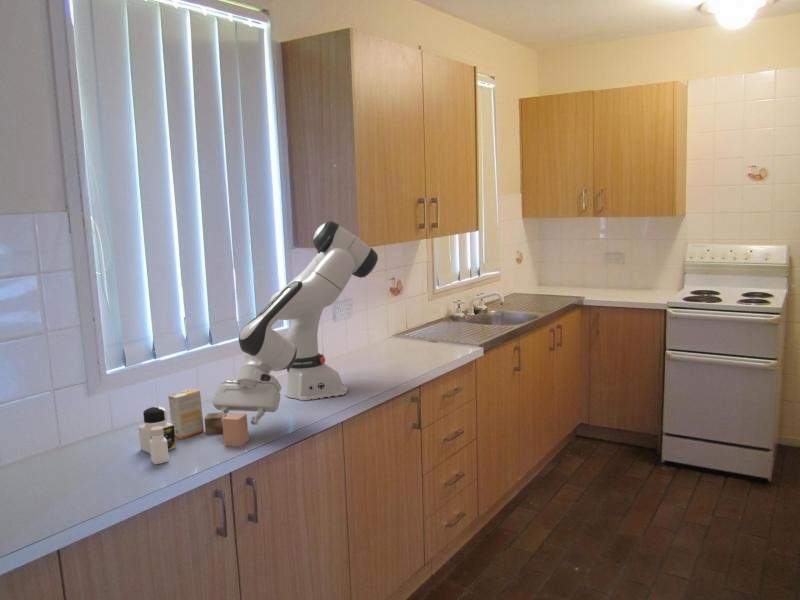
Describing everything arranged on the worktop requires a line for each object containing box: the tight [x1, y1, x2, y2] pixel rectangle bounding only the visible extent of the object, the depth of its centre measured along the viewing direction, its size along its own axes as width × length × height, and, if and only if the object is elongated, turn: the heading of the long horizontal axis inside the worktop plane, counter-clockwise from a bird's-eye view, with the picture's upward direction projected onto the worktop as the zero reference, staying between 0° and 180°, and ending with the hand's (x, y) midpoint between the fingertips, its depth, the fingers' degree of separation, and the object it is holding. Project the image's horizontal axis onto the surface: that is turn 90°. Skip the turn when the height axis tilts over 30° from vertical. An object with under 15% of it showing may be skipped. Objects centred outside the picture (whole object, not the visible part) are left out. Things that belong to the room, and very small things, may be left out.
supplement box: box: [167, 388, 205, 440], centre depth 197 cm, size 8×5×13 cm, turn 141°
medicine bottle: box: [138, 406, 177, 455], centre depth 186 cm, size 7×7×12 cm
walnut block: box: [203, 412, 223, 435], centre depth 199 cm, size 5×5×5 cm
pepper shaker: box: [149, 426, 170, 465], centre depth 176 cm, size 4×4×10 cm
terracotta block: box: [222, 412, 249, 447], centre depth 188 cm, size 5×5×8 cm
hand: (239, 423), depth 189 cm, fingers open, 8 cm apart
